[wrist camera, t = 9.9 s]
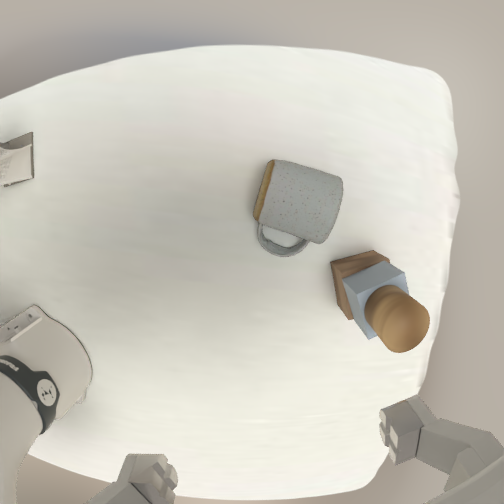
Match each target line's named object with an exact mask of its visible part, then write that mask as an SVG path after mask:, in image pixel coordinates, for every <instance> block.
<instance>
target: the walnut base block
mask: <svg viewBox="0 0 504 504" xmlns="http://www.w3.org/2000/svg"><path fill="white" fill-rule="evenodd" d="M384 260H385V261H386V262H388V263H390V260H389V259H388V258H386V257H384V256H383V255H381V254H379V253H377V252H376V251H374V250H372V251H369V252H365V253H361V254H358V255H354V256H350V257H347V258H343V259H339V260H335V261H332V262H330V263H331V268H332V274H333V279H334V285H335V291H336V297H337V303H338V306H339V307H340V309H341V310H342V311H343V313H344V314H345V316H346V317H347V318H348V320H352V319H354V318H353V314H352V311H351V308H350V304H349V301H348V298H347V294H346V291H345V288H344V285H343V281H342V279H343V278H345V277H348V276H350V275H352V274H355V273H357V272H359V271H362V270H364V269H366V268H368V267H371V266H373V265H375V264H378V263H380V262H382V261H384Z"/></svg>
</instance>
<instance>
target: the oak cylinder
mask: <svg viewBox="0 0 504 504" xmlns="http://www.w3.org/2000/svg"><path fill="white" fill-rule="evenodd" d="M364 315H365V319H366V321H367V323H368V324H369V325H370V326H371V328H372V329H373V330H374V331H375V333H376V334H377V335H378V337H379V338H380V339H381V340H382V342H383V343H384V344H385V346H386V347H387V348H388V349H389V350H391V351H393V352H396V353H403V352H406V351H409V350H411V349H413V348H414V347H416V346H417V345H418V344H419V343H420V342H421V341H422V340H423V338H424V337H425V335H426V333H427V331H428V328H429V324H430V317H429V313H428V311H427V309H426V308H425V307H424V306H422V305H421V304H420V303H419V302H417V301H416V300H415V299H413V298H412V297H411V296H409V295H408V294H407V293H406V292H404V291H403V290H402V289H400V288H399V287H397V286H395V285H385V286H382V287H380V288H378V289H376V290H375V291H374V292H373V293H372V294H371V295H370V296H369V298H368V300H367V302H366V304H365V308H364Z"/></svg>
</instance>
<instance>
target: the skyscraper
mask: <svg viewBox="0 0 504 504" xmlns="http://www.w3.org/2000/svg"><path fill="white" fill-rule="evenodd" d="M31 178H34V169H33V132H30V133H27V134H25V135H22V136H20V137H18V138H16V139H13V140H11V141H9V142H7V143H0V185H4V187H7V186H9V185H12V184H15V183H18V182H22V181H25V180H28V179H31Z"/></svg>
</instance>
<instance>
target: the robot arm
mask: <svg viewBox="0 0 504 504" xmlns="http://www.w3.org/2000/svg"><path fill="white" fill-rule="evenodd" d="M31 315H32V316H31ZM91 378H92V369H91V364H90V361H89V358H88V356H87V353H86V352H85V350H84V348H83V346H82V345H81V344H80V342H79V341H78V340H77V338H76V337H75V336H74V335H73V334H72V333H71V332H70V331H69V330H68V329H67V328H65V327H64V326H63V325H61V324H60V323H58V322H56V321H54V320H52V319H51V318H49V317H48V316H47V315H46V314H45V313H44V312H43V311H42V310H41V309H40V308H39V307H37V306H36V305H33V306H31V307H30V308H28V309H27V310H25V311H24V312H22V313H21V314H19V315H18V316H16V317H15V318H13V319H12V320H10V321H9V322H8V323H6V324H5V325H3V326H2V327H1V328H0V504H17V497H16V484H17V476H18V472H19V468H20V466H21V464H22V462H23V460H24V458H25V456H26V454H27V452H28V451H29V449H30V447H31V446H32V444H33V443H34V441H35V440H36V438H37V437H38V435H40V434H43V433H44V432H45V431H46V430H47V429H48V428H49V427H50V426H51V424H52V422H53V420H56V419H57V420H60V419H61V418H62V417H63V416H64V415H65V414H66V413H67V411H68V410H69V409H70V408H71V407H72V406H73V405H74V404H75V403H79V404H80V403H82V402H83V401H84V400H85V390H86V388H87V387H88V385H89V384H90V382H91ZM379 417H380V419H381V423H380V424H379V428H380V435H381V438H382V441H383V443H384V445H385V446H387V447H389V455H390V457H391V459H392V461H393V463H394V465H398V464H400V463H403V462H405V461H407V460H410V459H412V458H415V457H416V458H417V459H419V460H421V461H423V462H425V463H426V464H428V465H430V466H432V467H434V468H437V469H438V470H440V471H443V472H445V473H447V474H449V475H450V476H449V478H448V480H447V483H446V485H445V487H444V491H445V493H443V494H441V495H439V496H437V497H435V498H433V499H431V500H429V501H427V502H425V503H423V504H504V448H503V446H502V445H501V444H500V443H499V441H498V440H497V439H496V438H495V437H494V436H493V434H492V433H491V432H488V431H484V430H480V429H477V428H473V427H469V426H465V425H462V424H459V423H455V422H452V421H448V420H445V419H442V418H440V419H438V420H437V418H436V417H435V416H434V414H432V412H431V410H430V409H429V408H428V407H427V405H426V404H425V403H424V401H423V400H422V399H421V398H420V396H419V395H414V396H412V397H410V398H408V399H405V400H403V401H400V402H398V403H396V404H393V405H391V406H388V407H386V408H383V409H381V410H380V412H379ZM167 461H168V459H167V458H166V456H165V455H164V454H128V455H127V456H126V458H125V461H124V463H123V466H122V469H121V471H120V474H119V476H118V479H117V482H112V483H111V484H110V485H109V486H107V487H106V488H105V489H103V490H102V491H101V492H99V493H98V494H97V495H95V496H94V497H93V498H91V499H90V500H89V501H87V502H86V503H84V504H174V499H175V493H174V492H173V489H174V488H175V487H177V483H178V477H177V473H176V470H175V468H174V467H173V466H172V465H170V464H168V463H167Z"/></svg>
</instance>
